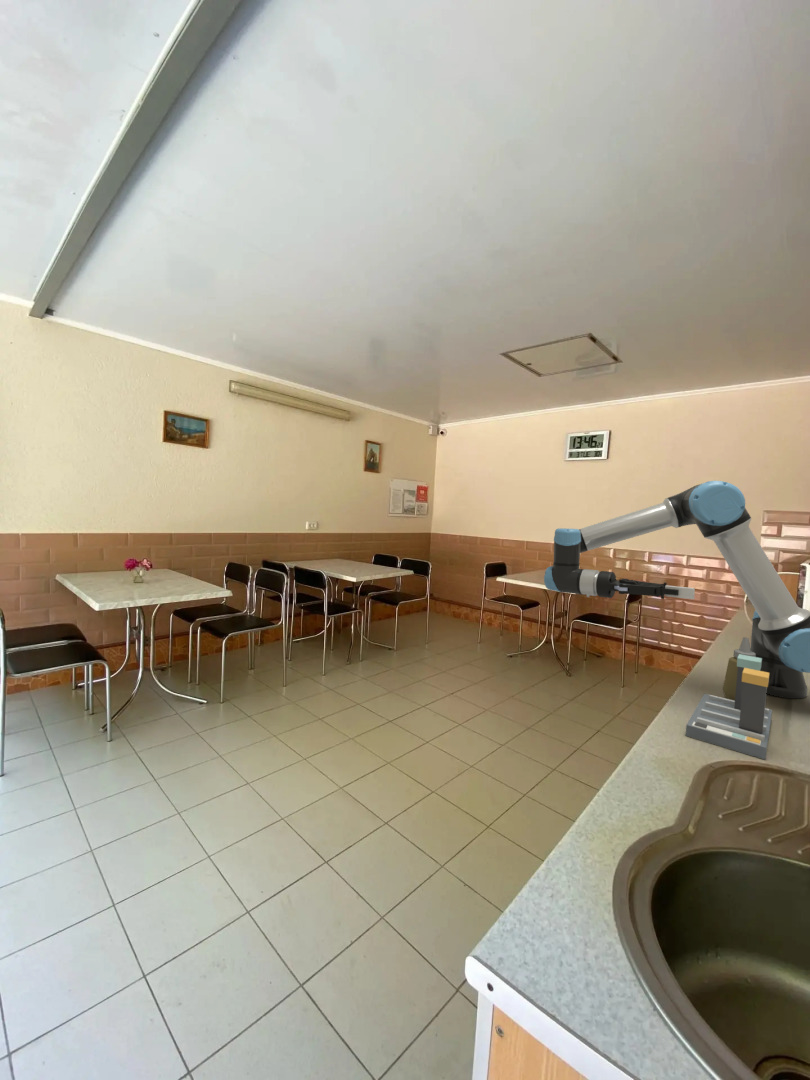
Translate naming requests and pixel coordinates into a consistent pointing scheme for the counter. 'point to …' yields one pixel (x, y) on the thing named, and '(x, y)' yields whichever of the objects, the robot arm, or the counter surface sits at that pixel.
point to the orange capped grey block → (753, 700)
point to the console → (726, 727)
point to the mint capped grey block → (742, 663)
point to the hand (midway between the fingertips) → (694, 593)
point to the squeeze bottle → (735, 669)
